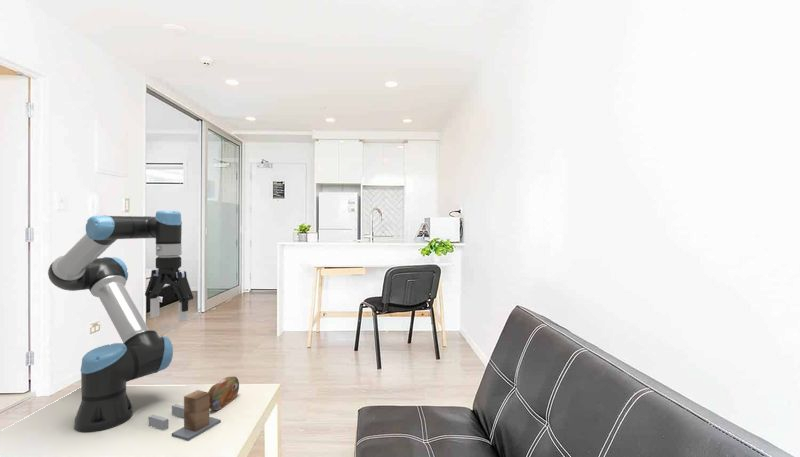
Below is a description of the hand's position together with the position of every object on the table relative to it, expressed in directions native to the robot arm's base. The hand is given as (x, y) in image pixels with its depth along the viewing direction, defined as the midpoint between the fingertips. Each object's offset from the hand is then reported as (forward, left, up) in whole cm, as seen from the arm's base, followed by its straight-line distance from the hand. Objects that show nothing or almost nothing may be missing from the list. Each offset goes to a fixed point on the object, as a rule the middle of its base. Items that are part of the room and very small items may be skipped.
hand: (168, 319), depth 134 cm
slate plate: (+18, -4, -32) cm, 37 cm away
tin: (+12, +12, -32) cm, 36 cm away
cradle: (+6, -4, -32) cm, 33 cm away
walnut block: (+18, -4, -31) cm, 36 cm away
